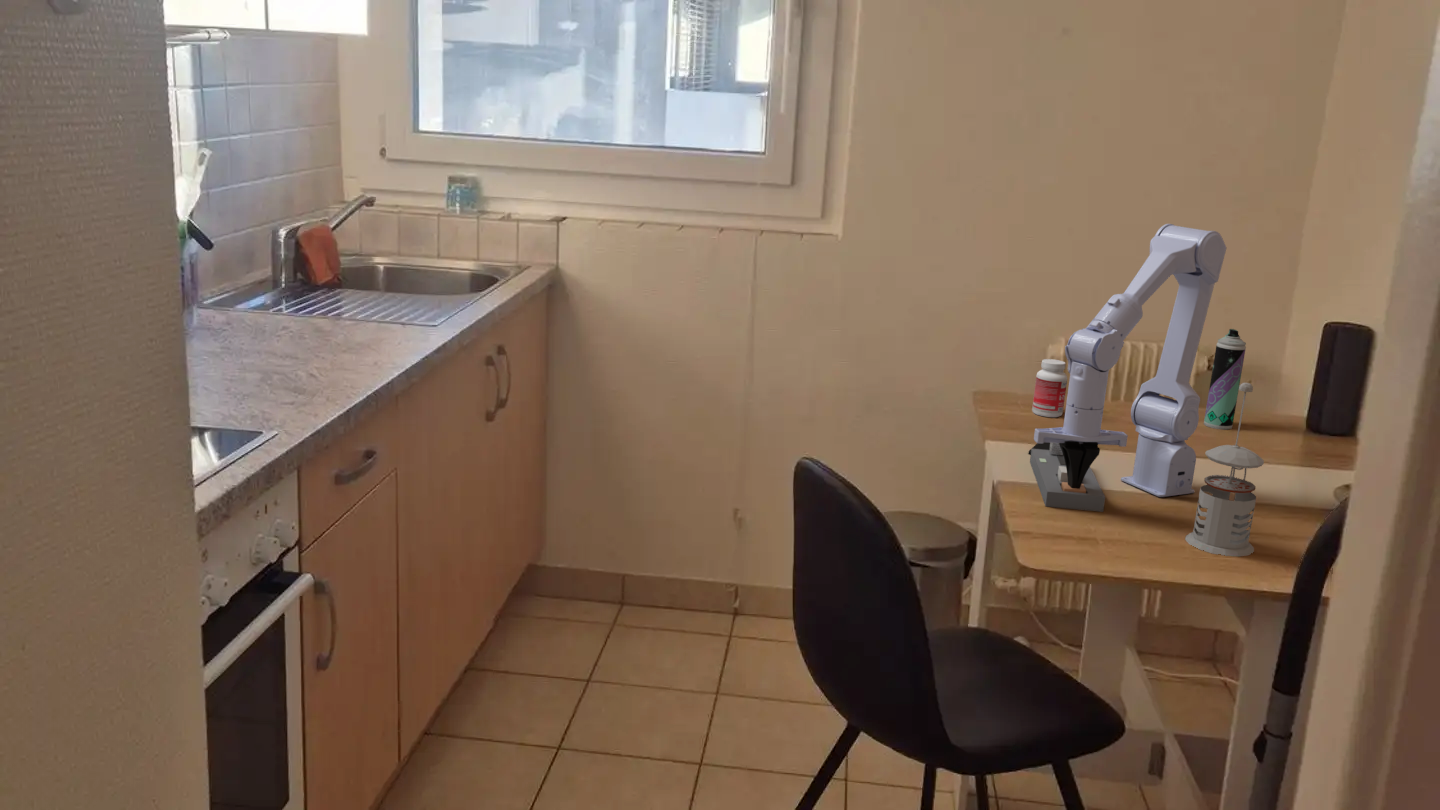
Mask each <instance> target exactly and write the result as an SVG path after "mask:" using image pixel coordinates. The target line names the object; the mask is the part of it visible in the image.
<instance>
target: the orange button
mask: <svg viewBox="0 0 1440 810" xmlns="http://www.w3.org/2000/svg"><path fill="white" fill-rule="evenodd" d="M1061 488H1062V491H1067V492H1078V493H1086V489H1085V487H1084V484H1081V487H1080V488H1071V487H1070V486H1069V485H1068V482H1062V484H1061Z"/></svg>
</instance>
